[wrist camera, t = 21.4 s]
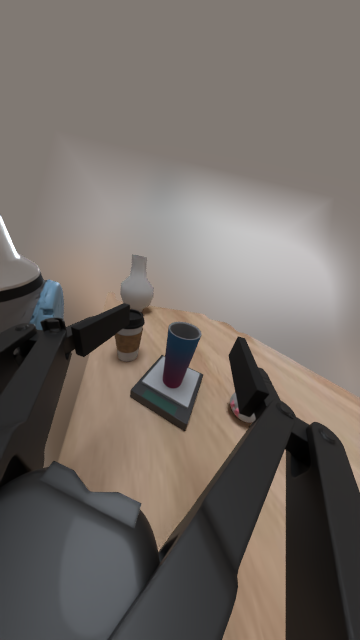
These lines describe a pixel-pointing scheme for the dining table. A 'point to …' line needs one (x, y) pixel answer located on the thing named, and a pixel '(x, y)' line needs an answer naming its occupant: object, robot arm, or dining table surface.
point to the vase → (137, 285)
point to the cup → (179, 352)
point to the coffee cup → (130, 337)
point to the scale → (168, 394)
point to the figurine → (236, 411)
